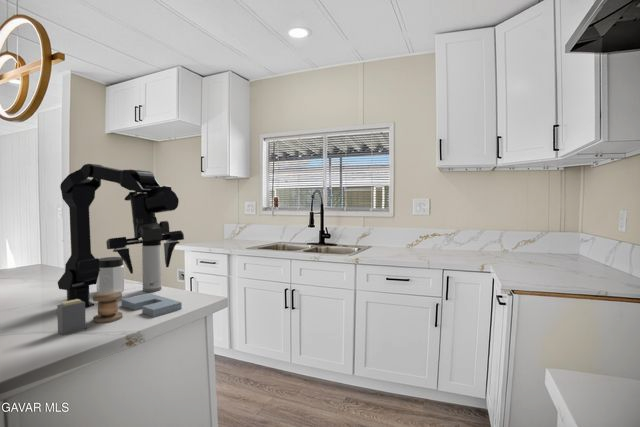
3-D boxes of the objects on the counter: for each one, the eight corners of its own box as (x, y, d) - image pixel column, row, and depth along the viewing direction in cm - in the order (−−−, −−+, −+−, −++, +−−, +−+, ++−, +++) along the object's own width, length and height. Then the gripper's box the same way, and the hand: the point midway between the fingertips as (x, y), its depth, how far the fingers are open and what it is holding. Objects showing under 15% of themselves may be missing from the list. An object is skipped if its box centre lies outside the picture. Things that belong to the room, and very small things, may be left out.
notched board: (121, 305, 108) (121, 299, 108) (149, 298, 115) (149, 292, 115) (153, 316, 98) (153, 309, 98) (181, 308, 105) (181, 302, 105)
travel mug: (154, 292, 123) (154, 237, 122) (138, 291, 124) (138, 236, 123) (166, 288, 129) (165, 235, 128) (150, 287, 130) (149, 234, 130)
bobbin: (88, 319, 95) (88, 295, 95) (115, 312, 101) (114, 290, 101) (100, 324, 91) (100, 300, 91) (127, 317, 97) (127, 294, 97)
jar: (91, 295, 119) (91, 261, 118) (101, 289, 127) (100, 257, 126) (120, 294, 121) (119, 260, 120) (127, 288, 129) (127, 256, 128)
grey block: (57, 332, 86) (57, 302, 86) (80, 326, 90) (80, 297, 90) (62, 335, 84) (62, 304, 84) (85, 329, 88) (85, 299, 88)
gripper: (110, 215, 84) (117, 279, 84) (187, 209, 96) (193, 265, 96) (103, 218, 92) (109, 276, 92) (174, 213, 104) (180, 264, 104)
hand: (150, 270), depth 96 cm, fingers open, 9 cm apart
